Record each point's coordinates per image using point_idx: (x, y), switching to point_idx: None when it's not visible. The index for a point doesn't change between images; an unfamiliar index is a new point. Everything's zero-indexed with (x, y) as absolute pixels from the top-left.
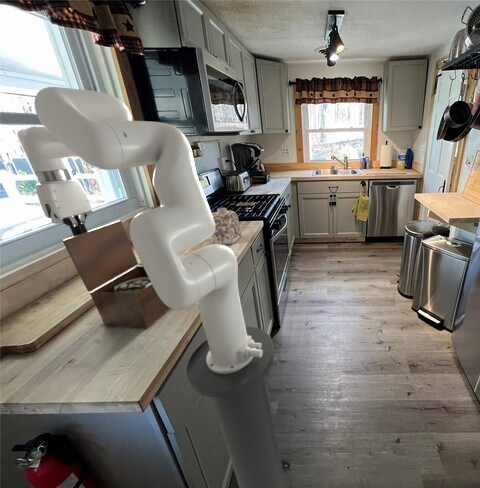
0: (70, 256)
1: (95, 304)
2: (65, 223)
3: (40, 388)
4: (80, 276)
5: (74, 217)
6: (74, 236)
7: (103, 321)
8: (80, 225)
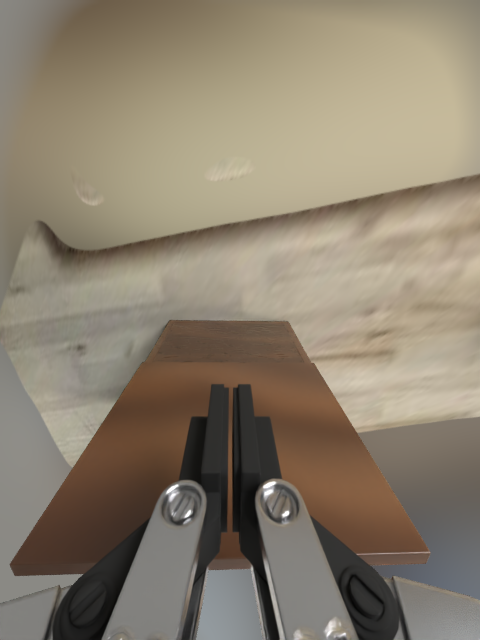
0: (77, 461)
1: (155, 345)
2: (121, 563)
3: (29, 355)
4: (122, 392)
5: (271, 594)
6: (82, 571)
7: (167, 324)
8: (226, 532)
